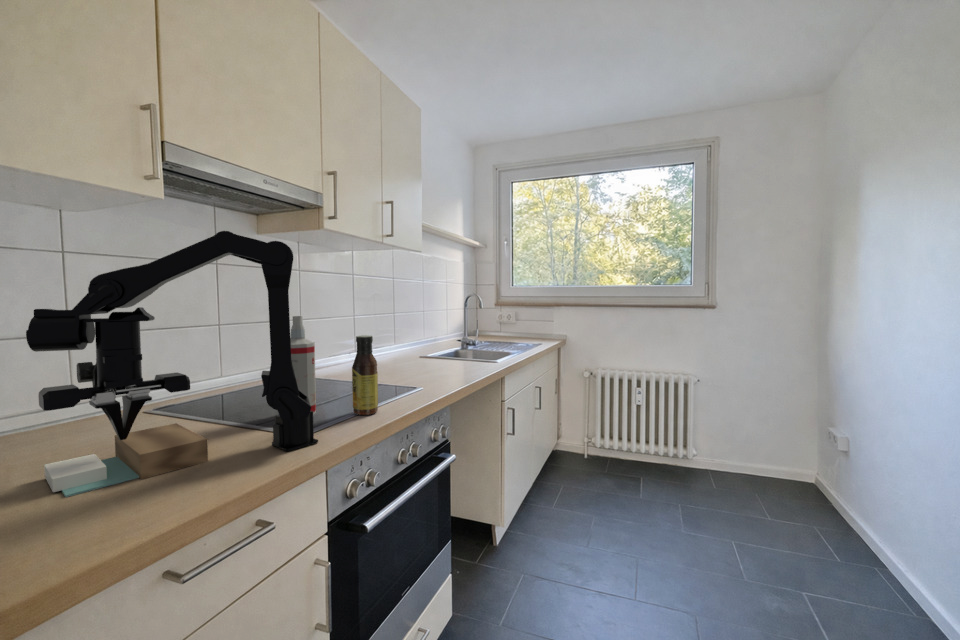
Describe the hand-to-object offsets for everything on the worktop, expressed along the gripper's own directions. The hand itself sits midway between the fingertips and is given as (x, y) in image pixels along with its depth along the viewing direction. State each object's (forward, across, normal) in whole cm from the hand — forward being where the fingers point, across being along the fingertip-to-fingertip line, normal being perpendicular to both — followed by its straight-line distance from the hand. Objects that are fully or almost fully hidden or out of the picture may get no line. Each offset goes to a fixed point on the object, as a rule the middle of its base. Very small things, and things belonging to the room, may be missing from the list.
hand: (122, 439), depth 71 cm
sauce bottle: (+5, -47, +4) cm, 47 cm away
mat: (+5, +4, 0) cm, 6 cm away
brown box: (+5, -5, 0) cm, 7 cm away
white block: (+3, +6, 0) cm, 6 cm away
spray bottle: (+5, -36, -8) cm, 37 cm away
